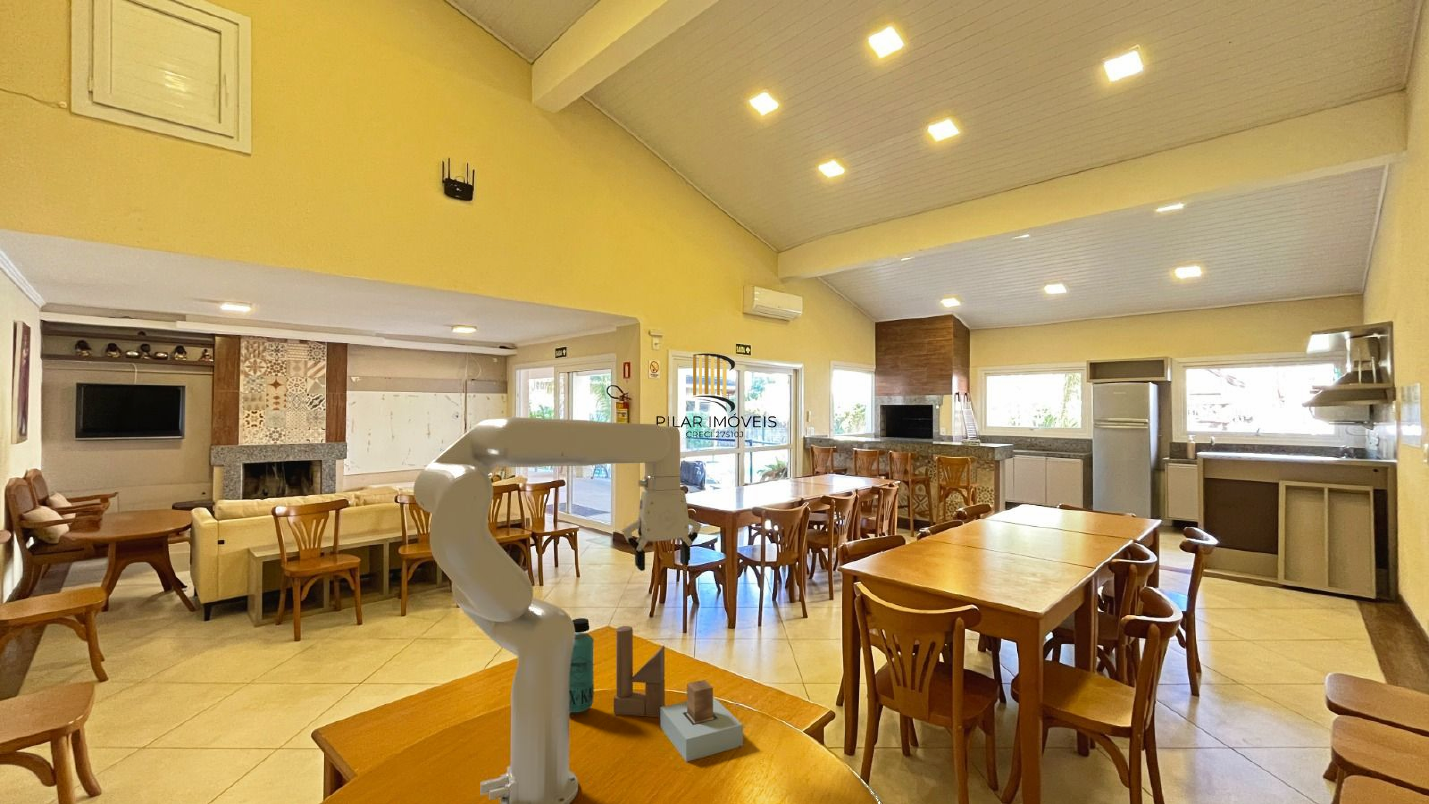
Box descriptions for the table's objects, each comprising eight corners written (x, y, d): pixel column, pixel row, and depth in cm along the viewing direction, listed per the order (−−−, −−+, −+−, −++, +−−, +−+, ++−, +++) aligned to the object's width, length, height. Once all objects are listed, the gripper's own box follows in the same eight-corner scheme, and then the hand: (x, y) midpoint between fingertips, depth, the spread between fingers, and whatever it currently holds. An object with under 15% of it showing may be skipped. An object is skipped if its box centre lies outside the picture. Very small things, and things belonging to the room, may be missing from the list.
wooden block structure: (661, 718, 120) (660, 632, 121) (613, 715, 122) (613, 630, 123) (665, 710, 123) (664, 627, 125) (618, 707, 125) (618, 625, 126)
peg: (694, 744, 110) (694, 691, 110) (686, 734, 113) (686, 683, 114) (713, 739, 111) (713, 687, 112) (705, 729, 115) (705, 679, 116)
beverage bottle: (560, 710, 124) (560, 618, 125) (589, 703, 127) (590, 613, 129) (567, 723, 118) (567, 626, 120) (597, 715, 121) (598, 621, 123)
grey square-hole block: (686, 761, 104) (686, 739, 104) (660, 727, 116) (660, 707, 116) (742, 745, 109) (742, 724, 109) (712, 714, 121) (712, 695, 122)
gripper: (628, 487, 111) (628, 575, 110) (707, 484, 118) (708, 566, 117) (617, 485, 117) (617, 567, 116) (693, 481, 125) (693, 559, 124)
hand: (663, 566), depth 117 cm, fingers open, 9 cm apart
